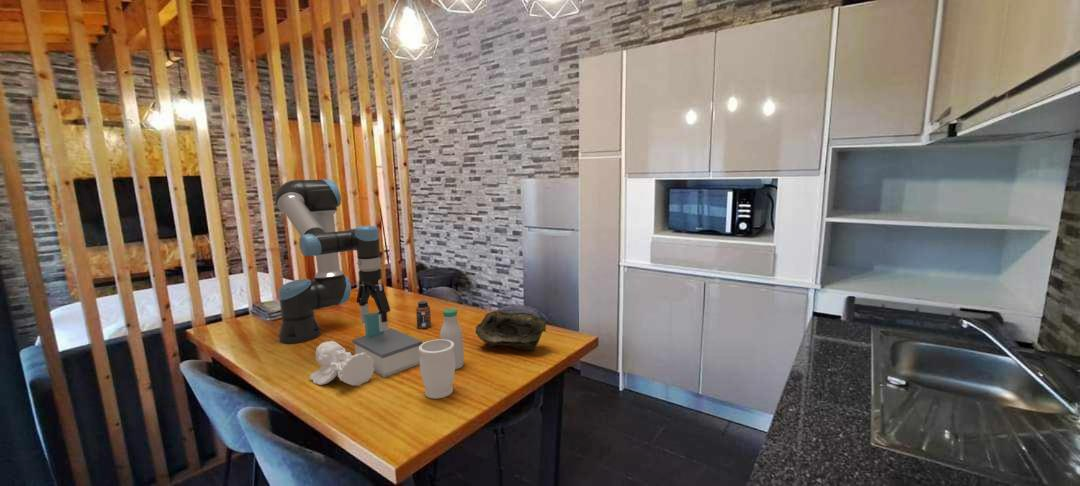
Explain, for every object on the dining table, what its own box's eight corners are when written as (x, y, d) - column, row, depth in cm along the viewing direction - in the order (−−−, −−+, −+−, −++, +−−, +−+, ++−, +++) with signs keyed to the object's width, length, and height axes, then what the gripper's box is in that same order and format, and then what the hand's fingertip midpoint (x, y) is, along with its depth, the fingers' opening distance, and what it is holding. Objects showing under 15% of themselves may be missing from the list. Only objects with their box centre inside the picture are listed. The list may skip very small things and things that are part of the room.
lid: (352, 344, 152) (350, 317, 151) (391, 332, 163) (389, 307, 162) (382, 360, 138) (380, 331, 137) (422, 346, 149) (420, 319, 148)
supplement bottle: (427, 329, 184) (425, 304, 182) (414, 328, 185) (413, 303, 184) (433, 324, 190) (432, 300, 188) (421, 324, 191) (419, 299, 189)
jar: (425, 384, 135) (422, 339, 132) (458, 383, 136) (456, 337, 133) (418, 402, 124) (415, 353, 122) (454, 400, 125) (452, 351, 123)
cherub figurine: (334, 364, 126) (300, 343, 137) (337, 401, 129) (303, 378, 140) (374, 348, 137) (339, 330, 148) (375, 383, 140) (341, 362, 151)
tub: (356, 361, 153) (354, 342, 152) (392, 349, 164) (390, 331, 162) (384, 377, 140) (382, 357, 139) (421, 363, 150) (420, 344, 149)
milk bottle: (468, 362, 150) (465, 307, 147) (456, 372, 143) (454, 314, 140) (448, 359, 153) (446, 306, 150) (437, 369, 146) (433, 312, 143)
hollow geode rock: (547, 364, 159) (558, 327, 167) (537, 350, 149) (549, 312, 157) (482, 350, 170) (495, 316, 178) (469, 337, 161) (483, 302, 168)
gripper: (343, 266, 158) (348, 321, 161) (377, 275, 141) (381, 337, 145) (363, 263, 163) (367, 316, 167) (397, 272, 147) (401, 331, 150)
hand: (374, 326), depth 156 cm, fingers open, 13 cm apart
